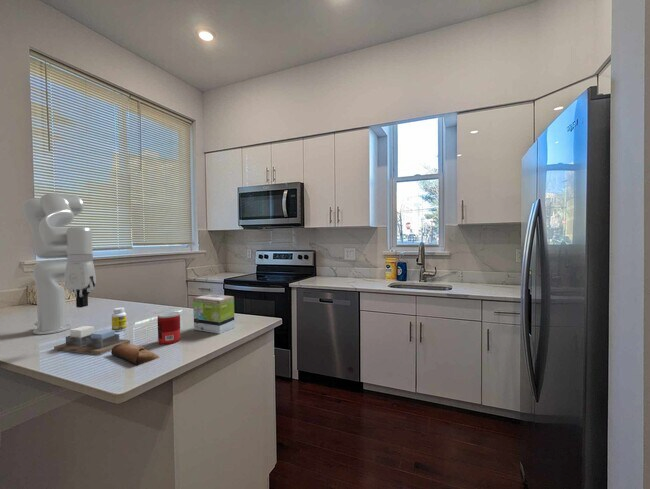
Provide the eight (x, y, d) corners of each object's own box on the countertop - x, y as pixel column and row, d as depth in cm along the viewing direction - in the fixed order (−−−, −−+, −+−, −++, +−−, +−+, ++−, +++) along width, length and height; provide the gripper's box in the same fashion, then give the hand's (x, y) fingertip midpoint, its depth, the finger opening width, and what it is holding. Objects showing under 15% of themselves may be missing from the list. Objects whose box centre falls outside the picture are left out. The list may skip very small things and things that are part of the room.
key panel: (54, 349, 112) (53, 338, 112) (86, 339, 124) (86, 329, 124) (100, 354, 107) (100, 342, 107) (130, 343, 118) (129, 332, 118)
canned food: (184, 339, 122) (184, 312, 122) (168, 345, 115) (168, 317, 114) (170, 337, 125) (169, 310, 124) (153, 343, 117) (152, 315, 117)
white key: (70, 338, 115) (70, 329, 114) (84, 334, 120) (84, 325, 119) (81, 339, 113) (80, 330, 113) (94, 335, 118) (94, 326, 118)
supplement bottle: (119, 332, 133) (118, 310, 132) (109, 331, 134) (108, 309, 134) (129, 328, 138) (128, 307, 138) (119, 328, 139) (118, 306, 139)
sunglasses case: (162, 356, 104) (151, 343, 101) (144, 374, 99) (132, 360, 96) (136, 347, 113) (125, 334, 110) (118, 362, 108) (107, 349, 105)
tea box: (193, 330, 133) (192, 297, 133) (209, 324, 143) (208, 293, 142) (220, 334, 128) (219, 299, 127) (235, 327, 137) (234, 295, 137)
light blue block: (90, 342, 112) (90, 333, 112) (104, 338, 117) (104, 329, 117) (101, 344, 111) (101, 334, 111) (115, 339, 116) (114, 330, 116)
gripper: (55, 260, 114) (56, 308, 114) (85, 259, 110) (87, 309, 110) (75, 258, 121) (77, 304, 121) (105, 258, 117) (106, 305, 118)
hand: (82, 306), depth 116 cm, fingers closed
